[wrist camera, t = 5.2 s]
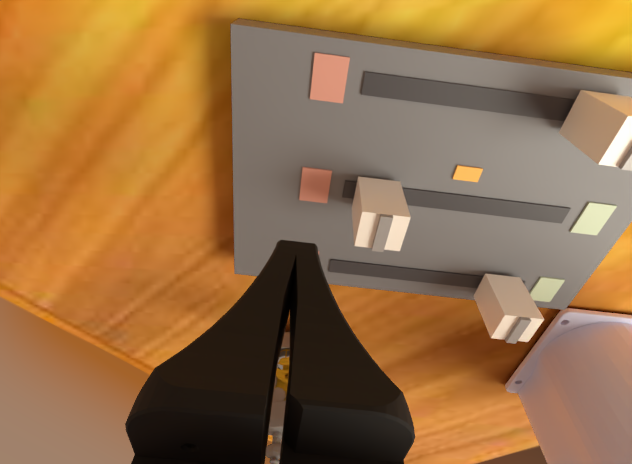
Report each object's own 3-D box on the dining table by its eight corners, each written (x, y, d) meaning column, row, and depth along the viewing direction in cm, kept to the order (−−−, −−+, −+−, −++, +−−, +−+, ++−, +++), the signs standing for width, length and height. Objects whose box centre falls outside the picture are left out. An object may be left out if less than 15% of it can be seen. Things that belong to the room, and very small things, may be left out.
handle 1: (506, 299, 22) (529, 345, 20) (473, 296, 22) (492, 341, 19) (520, 277, 21) (546, 322, 18) (485, 273, 21) (506, 318, 18)
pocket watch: (296, 388, 32) (284, 536, 24) (219, 339, 28) (173, 493, 20) (375, 350, 28) (392, 508, 20) (299, 289, 25) (282, 449, 17)
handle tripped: (391, 213, 19) (400, 254, 16) (351, 208, 19) (354, 249, 16) (400, 181, 18) (411, 220, 15) (358, 176, 18) (362, 214, 15)
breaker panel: (553, 292, 24) (565, 311, 23) (239, 256, 23) (234, 274, 22) (699, 81, 16) (730, 92, 15) (238, 18, 16) (230, 24, 14)
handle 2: (603, 138, 16) (654, 173, 14) (558, 132, 16) (601, 167, 14) (629, 96, 15) (689, 125, 13) (580, 89, 15) (631, 117, 12)
